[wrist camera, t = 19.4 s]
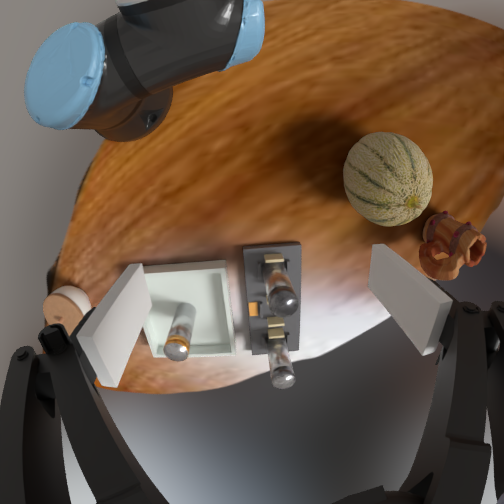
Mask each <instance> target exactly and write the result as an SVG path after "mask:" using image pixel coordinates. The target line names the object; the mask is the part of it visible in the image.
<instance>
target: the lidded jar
mask: <svg viewBox="0 0 504 504" xmlns="http://www.w3.org/2000/svg"><path fill="white" fill-rule="evenodd" d="M89 310H91V304H90V301H89V298H88V296H87V295H86V293H85V292H84V291H83V290H81V289H80V288H77V287H74V286H62V287H60V288H58V289H56V290H55V291H53V292H52V293H51V294H50V295H49V296H47V297H46V299H45V300H44V303H43V312H44V315H45V318H46V320H47V322H48V323H49V325H51V324H55V323H60V324H63V325H64V327H65V329H66V331H67V333H68V335H69V336H70V335H71V333H72V332H73V330H74V329H75V328H76V326H77V325H78V323H79V322H80V321H81V320H82V318H83V317H84V315H85V314H86V313H87V312H88V311H89Z"/></svg>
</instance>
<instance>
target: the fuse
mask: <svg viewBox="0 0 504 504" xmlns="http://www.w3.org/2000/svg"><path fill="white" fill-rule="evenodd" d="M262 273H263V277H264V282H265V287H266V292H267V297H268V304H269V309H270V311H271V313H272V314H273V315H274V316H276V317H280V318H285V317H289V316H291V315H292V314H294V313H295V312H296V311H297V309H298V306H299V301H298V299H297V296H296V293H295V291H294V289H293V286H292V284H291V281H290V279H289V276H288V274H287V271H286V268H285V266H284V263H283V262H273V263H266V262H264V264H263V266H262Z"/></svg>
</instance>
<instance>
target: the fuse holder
mask: <svg viewBox="0 0 504 504" xmlns="http://www.w3.org/2000/svg"><path fill="white" fill-rule="evenodd" d="M243 255H244V267H245V279H246V291H247V302H248V314H249V325H250V336H251V348H252V355H260V354H268V352H267V346H266V337H267V335H268V336H269V339H273V338H283V337H284V336H285V339H286V343H287V347H288V351H297V350H299V334H300V305H301V244H300V242H294V243H281V244H269V245H256V246H243ZM264 262H266V263H273V262H283V263H284V266H285V268H286V271H287V274H288V276H289V279H290V281H291V284H292V286H293V289H294V291H295V293H296V296H297V299H298V301H299V306H298V309H297V311H296V312H295V313H294V314H292V315H291V316H289V317H285V318H280V317H276V316H274V315H273V314H272V313H271V311H270V309H269V304H268V297H267V292H266V287H265V282H264V277H263V273H262V266H263V264H264Z"/></svg>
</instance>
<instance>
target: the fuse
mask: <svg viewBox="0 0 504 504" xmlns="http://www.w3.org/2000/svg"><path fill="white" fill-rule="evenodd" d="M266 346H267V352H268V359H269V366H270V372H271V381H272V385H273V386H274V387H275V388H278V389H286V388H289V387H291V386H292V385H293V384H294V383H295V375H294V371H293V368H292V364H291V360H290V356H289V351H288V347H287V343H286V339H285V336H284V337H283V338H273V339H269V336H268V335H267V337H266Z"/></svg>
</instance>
